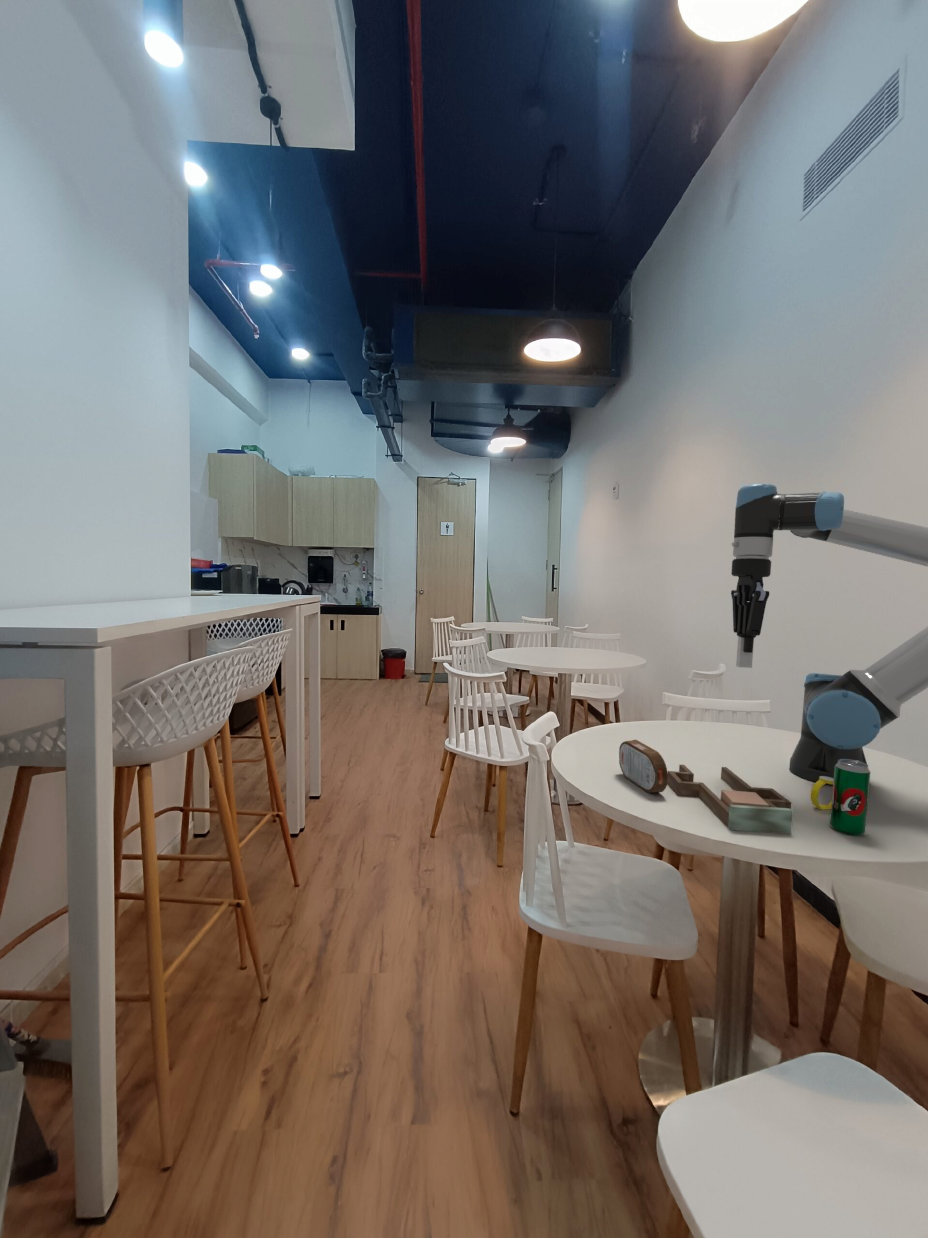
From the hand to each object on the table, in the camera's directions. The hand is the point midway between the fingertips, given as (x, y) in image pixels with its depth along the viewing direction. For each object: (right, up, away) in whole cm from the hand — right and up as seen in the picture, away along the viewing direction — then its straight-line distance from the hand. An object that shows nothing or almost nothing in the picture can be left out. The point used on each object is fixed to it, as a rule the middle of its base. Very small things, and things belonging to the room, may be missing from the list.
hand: (743, 666), depth 121 cm
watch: (+8, -26, -15) cm, 31 cm away
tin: (-25, -24, -6) cm, 35 cm away
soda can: (+5, -26, -25) cm, 37 cm away
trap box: (-10, -25, -14) cm, 30 cm away
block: (-11, -26, -21) cm, 35 cm away
